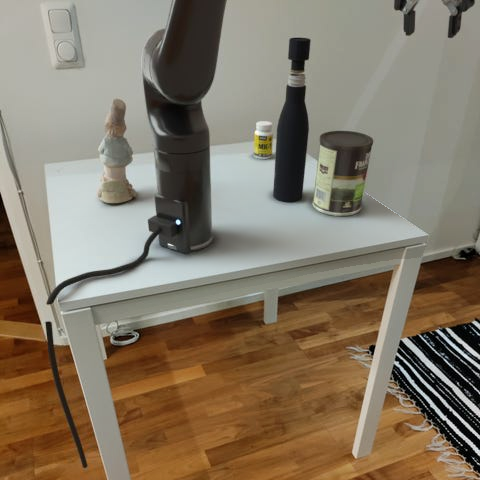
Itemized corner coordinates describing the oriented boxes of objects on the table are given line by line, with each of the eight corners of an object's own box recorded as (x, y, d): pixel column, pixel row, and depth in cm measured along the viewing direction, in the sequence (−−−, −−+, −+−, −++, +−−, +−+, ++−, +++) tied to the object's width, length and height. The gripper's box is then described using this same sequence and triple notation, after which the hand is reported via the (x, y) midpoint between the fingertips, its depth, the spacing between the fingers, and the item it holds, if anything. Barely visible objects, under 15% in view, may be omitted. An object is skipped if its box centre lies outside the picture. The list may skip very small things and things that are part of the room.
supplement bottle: (256, 160, 121) (257, 126, 116) (251, 154, 125) (252, 121, 120) (274, 158, 123) (276, 125, 117) (268, 152, 126) (270, 120, 121)
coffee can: (368, 203, 101) (381, 136, 92) (349, 221, 94) (361, 149, 85) (324, 192, 105) (333, 127, 97) (303, 208, 98) (310, 139, 90)
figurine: (140, 203, 99) (127, 102, 87) (99, 207, 98) (80, 104, 85) (136, 187, 106) (124, 91, 94) (98, 190, 104) (81, 93, 92)
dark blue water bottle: (308, 198, 103) (325, 39, 84) (285, 204, 100) (297, 42, 81) (289, 188, 107) (302, 35, 88) (267, 194, 104) (275, 37, 86)
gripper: (386, -62, 80) (386, 41, 92) (468, -69, 72) (457, 45, 83) (410, -76, 83) (407, 26, 95) (492, -84, 75) (477, 28, 86)
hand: (430, 35), depth 89 cm, fingers open, 8 cm apart
